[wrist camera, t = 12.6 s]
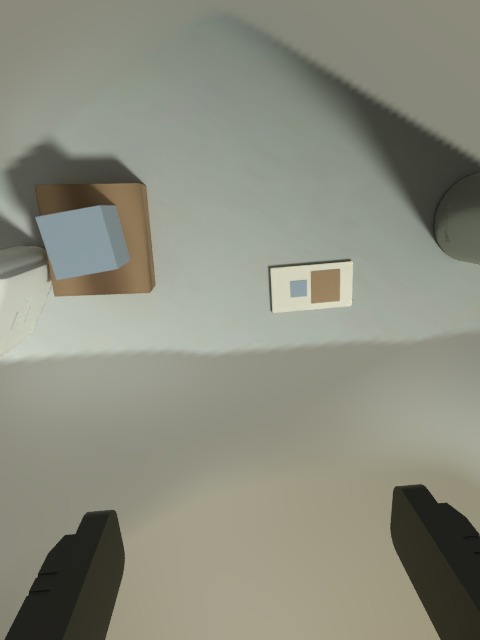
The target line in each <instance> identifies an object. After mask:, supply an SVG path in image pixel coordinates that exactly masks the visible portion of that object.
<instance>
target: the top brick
mask: <svg viewBox="0 0 480 640" xmlns="http://www.w3.org/2000/svg"><path fill="white" fill-rule="evenodd" d="M35 218H36V221H37V224H38V227H39V230H40V233H41V236H42V239H43V242H44V245H45V248H46V251H47V254H48V257H49V260H50V262H51V265H52V268H53V271H54V274H55V277H56V280H62V279H67V278H72V277H78V276H83V275H88V274H94V273H99V272H105V271H110V270H115V269H119V268H120V267H122V266H123V265H124V264H126V263H127V262H129V261H130V256H129V253H128V249H127V245H126V241H125V238H124V234H123V230H122V227H121V223H120V219H119V215H118V212H117V208H116V206H113V205H99V206H93V207H88V208H82V209H77V210H71V211H66V212H60V213H55V214H49V215H44V216H38V217H35Z"/></svg>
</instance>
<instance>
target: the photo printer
mask: <svg viewBox="0 0 480 640" xmlns="http://www.w3.org/2000/svg"><path fill="white" fill-rule="evenodd" d="M51 283H52V279H51V274H50V268H49V263H48V257H47V252H46V250H45V249H43V248H41V247H38V246H28V247H25V246H24V245H20V246H15V247H10V248H6V249H2V250H0V358H1V357H2V356H3V355H5V354H6V353H8V352H9V351H10V350H12V349H13V348H15V347H16V346H17V345H19V344H20V343H21V342H23V341H24V340H25V339H27V338H28V336H29V335H30V334H31V332H32V331H33V329H34V327H35V325H36V323H37V320H38V318H39V315H40V313H41V311H42V308H43V305H44V303H45V300H46V297H47V295H48V292H49V289H50V286H51Z"/></svg>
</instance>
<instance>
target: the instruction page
mask: <svg viewBox="0 0 480 640" xmlns="http://www.w3.org/2000/svg"><path fill="white" fill-rule="evenodd" d="M352 273H353V261H347V262H335V263H323V264H311V265H300V266H288V267H276V268H270V275H271V296H272V313H279V312H290V311H301V310H312V309H323V308H333V307H344V306H352Z"/></svg>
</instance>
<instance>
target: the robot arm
mask: <svg viewBox="0 0 480 640" xmlns="http://www.w3.org/2000/svg"><path fill="white" fill-rule="evenodd" d="M434 224H435V235H436V239H437V241H438V244H439V246H440V247H441V249H442V250H443V251H444V252H445V253H446V254H447V255H449V256H450V257H452V258H454V259H457V260H460V261H465V262H470V263H474V264H479V265H480V173H476V174H472V175H469V176H467V177H465V178H463V179H461V180H459V181H458V182H457V183H456V184H454V185H453V186H452V187H451V188H450V189H449V190H448V192H447V193H446V194H445V195H444V197H443V199H442V200H441V202H440V204H439V206H438V209H437V212H436V216H435V222H434ZM390 529H391V537H392V541H393V545H394V547H395V550H396V552H397V554H398V556H399V558H400V560H401V562H402V564H403V566H404V568H405V570H406V572H407V574H408V576H409V578H410V580H411V582H412V584H413V586H414V588H415V590H416V592H417V594H418V596H419V598H420V600H421V602H422V604H423V606H424V608H425V610H426V611H427V614H428V615H429V618H430V620H431V621H432V623H433V625H434V627H435V629H436V631H437V633H438V635H439V637H440V639H441V640H480V535H479V533H478V532H477V531H476V530H475V528H474V527H473V526H472V524H471V523H470V522H469V521H468V519H467V518H466V517H465V516H464V515H462V514H461V513H460V512H458V511H457V510H456V509H454V508H453V507H452V506H450V505H449V504H448V503H437V501H436V500H435V499H434V497H433V496H432V495H431V493H430V492H429V491H428V489H427V488H426V487H425V486H424V485H422V484H419V485H407V486H396V487H395V488H394V490H393V501H392V513H391V527H390ZM124 561H125V554H124V546H123V542H122V537H121V532H120V527H119V522H118V518H117V513H116V511H115V510H106V511H94V512H87V513H86V514H85V515H84V517H83V519H82V521H81V523H80V525H79V527H78V530H77V532H76V534H73V535H65V536H64V537H63V538H62V539H61V540H60V541H59V542H58V543H57V544H56V546H55V547H54V548H53V549H52V550H51V551H50V552H49V553H48V555H47V557H46V559H45V561H44V563H43V565H42V567H41V569H40V571H39V573H38V577H37V578H36V579H35V581H34V583H33V585H32V587H31V589H30V591H29V595H28V596H27V597H26V598H25V600H24V603H23V604H22V607H21V608H20V610H19V612H18V614H17V616H16V618H15V620H14V622H13V624H12V626H11V628H10V630H9V632H8V634H7V636H6V638H5V640H105V638H106V634H107V631H108V627H109V623H110V620H111V616H112V612H113V609H114V605H115V602H116V598H117V594H118V591H119V587H120V583H121V580H122V575H123V570H124Z"/></svg>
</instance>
